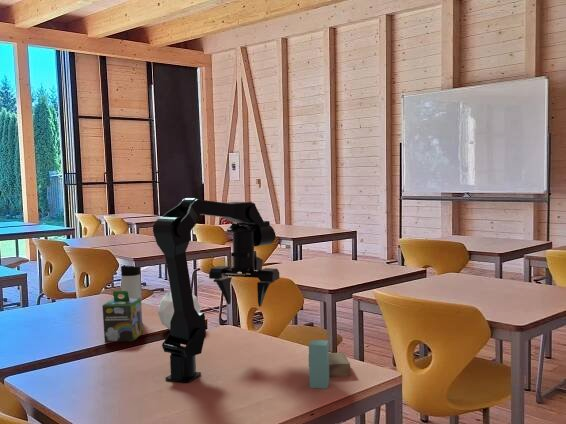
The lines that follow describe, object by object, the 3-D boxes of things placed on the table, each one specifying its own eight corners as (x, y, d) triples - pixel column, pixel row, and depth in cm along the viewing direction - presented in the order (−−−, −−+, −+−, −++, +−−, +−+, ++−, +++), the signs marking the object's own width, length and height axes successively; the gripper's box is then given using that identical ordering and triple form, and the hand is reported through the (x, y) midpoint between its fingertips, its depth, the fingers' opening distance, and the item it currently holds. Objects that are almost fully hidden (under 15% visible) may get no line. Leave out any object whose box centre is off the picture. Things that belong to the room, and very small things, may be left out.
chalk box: (143, 333, 185) (141, 287, 184) (133, 342, 176) (131, 293, 175) (114, 333, 186) (112, 287, 185) (103, 342, 177) (101, 293, 176)
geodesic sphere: (169, 322, 175) (188, 281, 181) (139, 316, 184) (158, 277, 190) (197, 341, 185) (215, 302, 191) (168, 335, 193) (185, 298, 199)
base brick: (313, 379, 141) (312, 365, 141) (308, 367, 150) (308, 353, 150) (350, 377, 142) (350, 363, 142) (343, 365, 151) (343, 352, 151)
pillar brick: (309, 387, 135) (308, 344, 134) (312, 381, 139) (311, 340, 138) (327, 388, 134) (326, 345, 133) (329, 382, 138) (328, 340, 137)
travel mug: (118, 325, 196) (115, 265, 195) (132, 320, 202) (129, 262, 201) (132, 327, 193) (130, 266, 192) (146, 322, 199) (143, 263, 198)
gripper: (286, 245, 164) (286, 301, 164) (225, 244, 170) (226, 297, 171) (271, 250, 153) (272, 309, 154) (207, 248, 160) (208, 305, 161)
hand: (244, 305), depth 160 cm, fingers open, 9 cm apart
